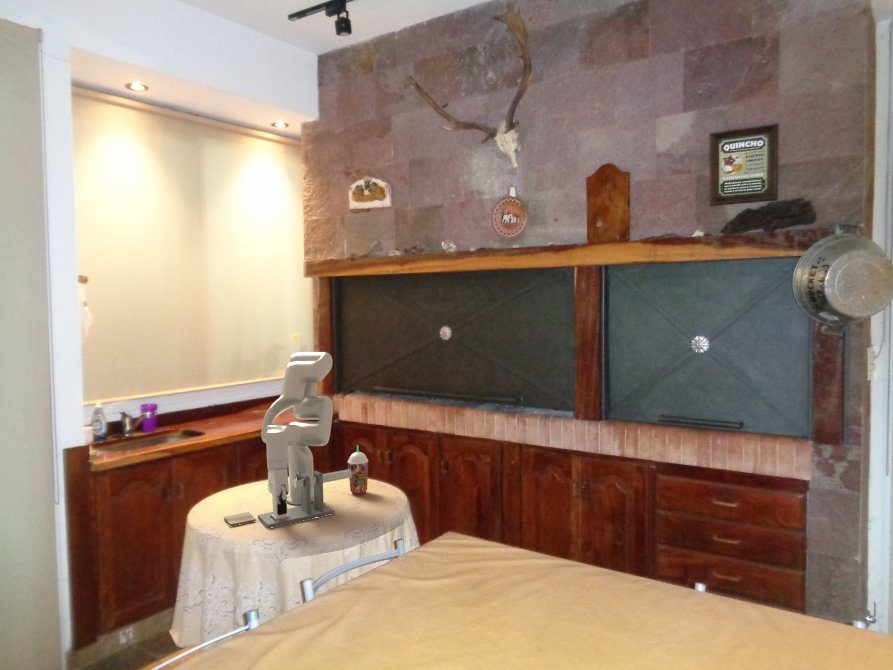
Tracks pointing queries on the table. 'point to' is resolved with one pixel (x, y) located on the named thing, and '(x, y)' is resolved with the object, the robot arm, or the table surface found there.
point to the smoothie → (358, 472)
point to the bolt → (326, 478)
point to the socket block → (302, 505)
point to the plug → (275, 510)
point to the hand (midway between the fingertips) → (280, 511)
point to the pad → (239, 519)
